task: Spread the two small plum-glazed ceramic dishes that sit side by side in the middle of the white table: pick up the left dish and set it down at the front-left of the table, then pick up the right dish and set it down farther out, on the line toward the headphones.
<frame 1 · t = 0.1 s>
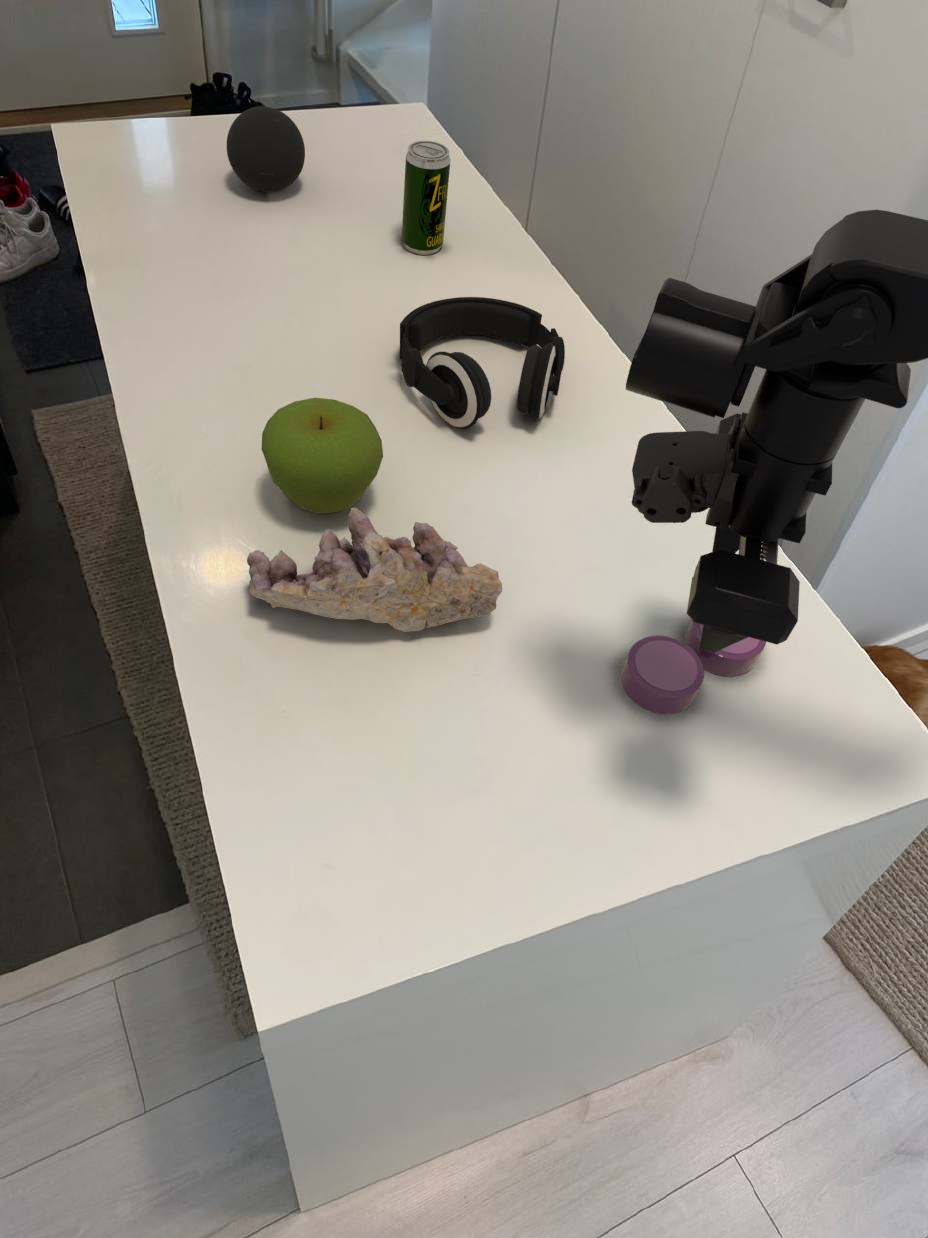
hand: (712, 602, 68), 12 cm above the table, tool pointing down, fingers open, 9 cm apart
mineral specimen: (372, 608, 81), on the table
headphones: (479, 383, 103), on the table
green energy drink can: (422, 246, 120), on the table
apple: (323, 498, 89), on the table
speaker: (268, 189, 126), on the table
dish a: (720, 647, 82), on the table
dish b: (658, 682, 79), on the table
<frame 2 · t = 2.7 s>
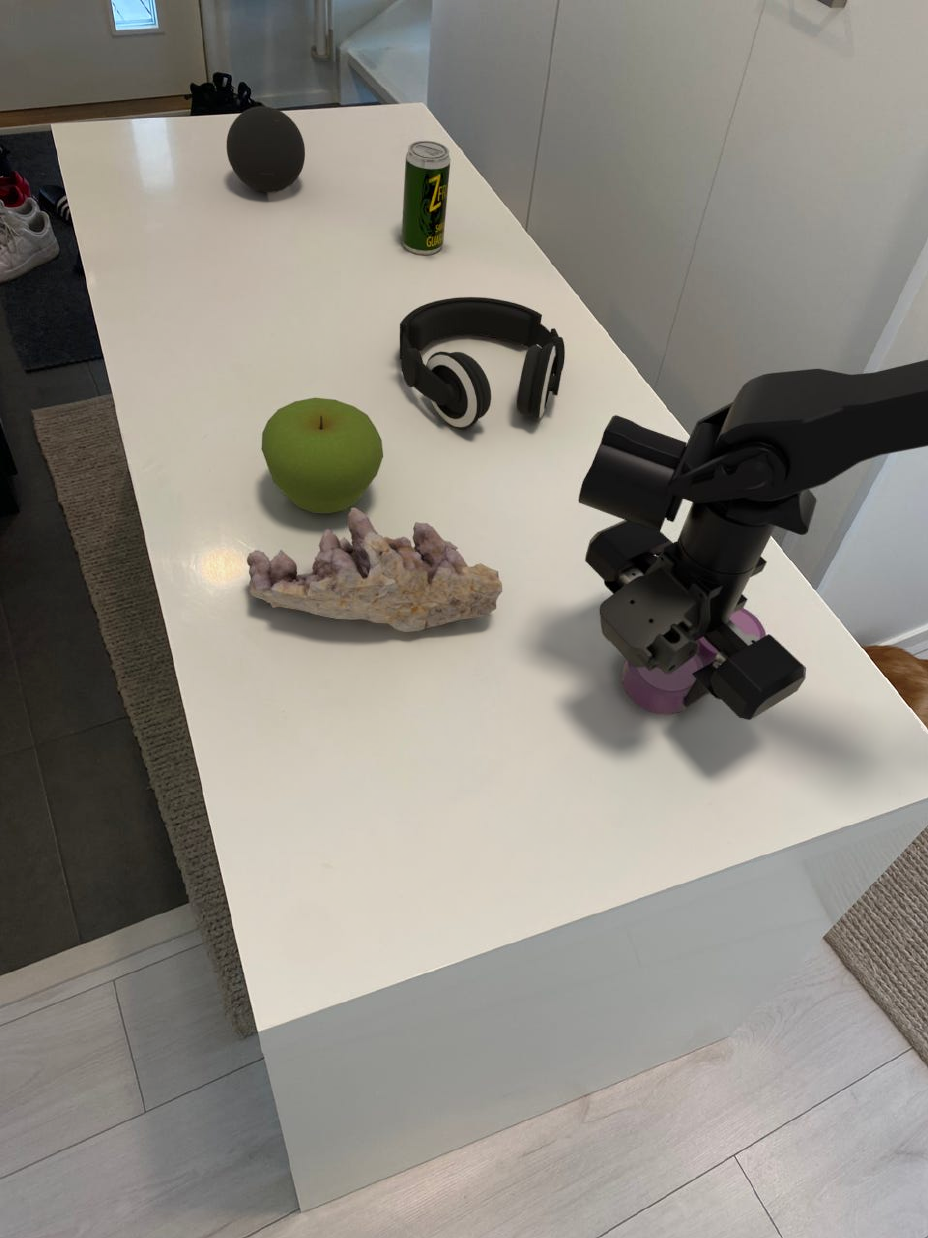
hand: (661, 675, 78), 1 cm above the table, tool pointing down, fingers closed on dish b, 6 cm apart
dish b: (658, 682, 79), on the table, touching gripper
everything else where it was.
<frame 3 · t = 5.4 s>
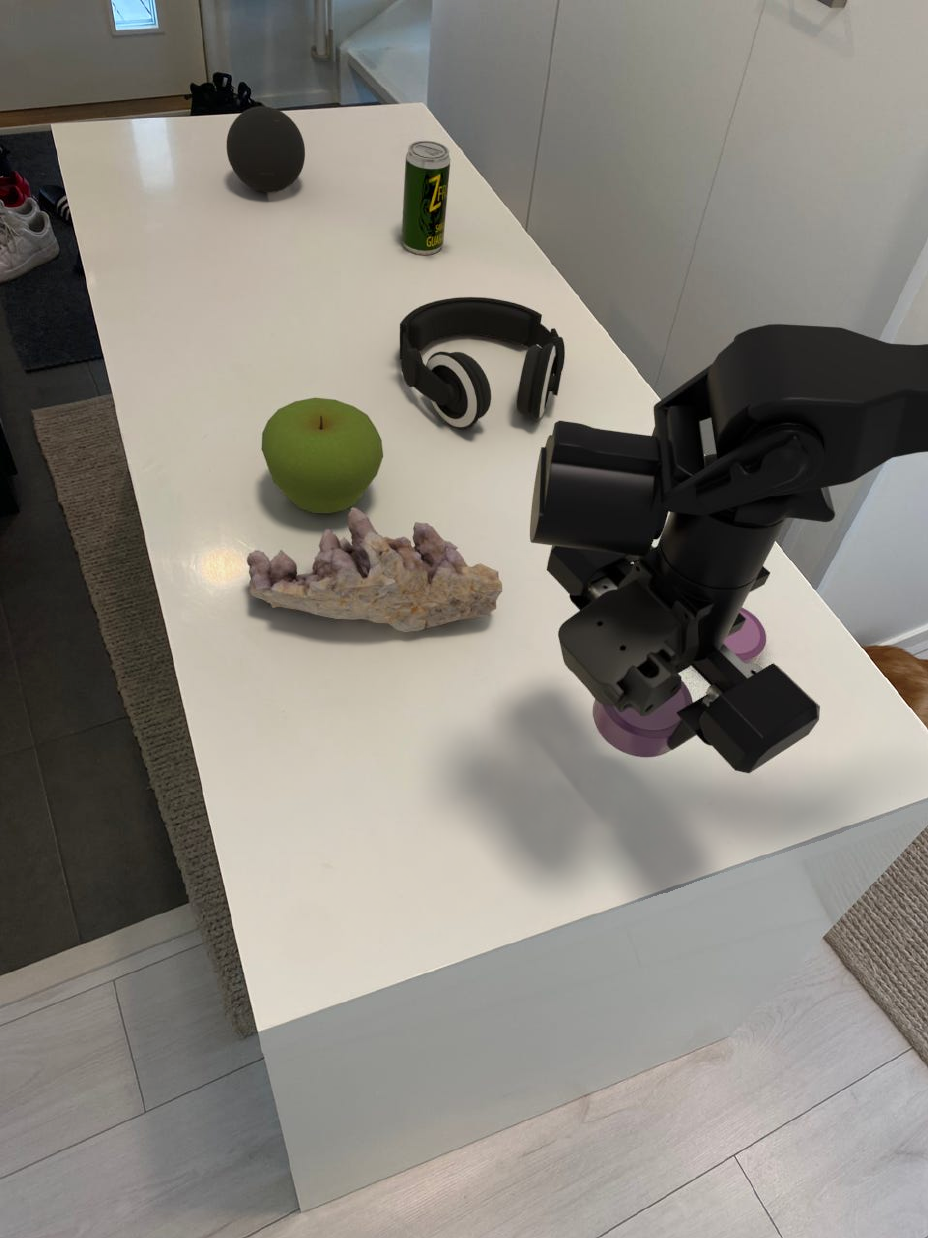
hand: (641, 709, 64), 10 cm above the table, tool pointing down, fingers closed on dish b, 6 cm apart
dish b: (638, 717, 65), point 9 cm above the table, touching gripper
everything else where it was.
when the fingers open (1 cm above the table, at t = 8.1 s): dish b stays where it is, on the table.
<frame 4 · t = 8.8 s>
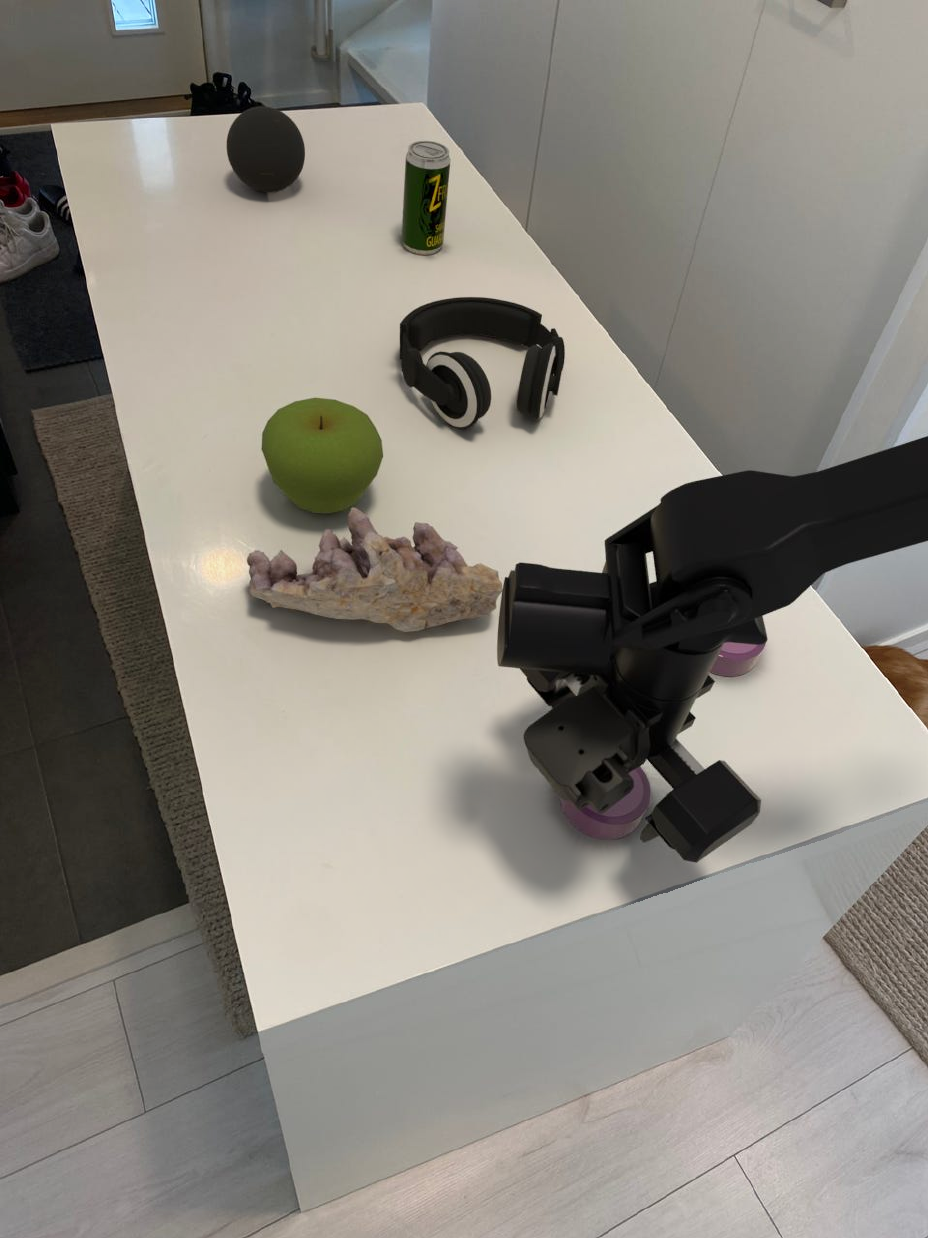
hand: (605, 789, 70), 2 cm above the table, tool pointing down, fingers open, 9 cm apart
dish b: (601, 801, 71), on the table
everything else where it was.
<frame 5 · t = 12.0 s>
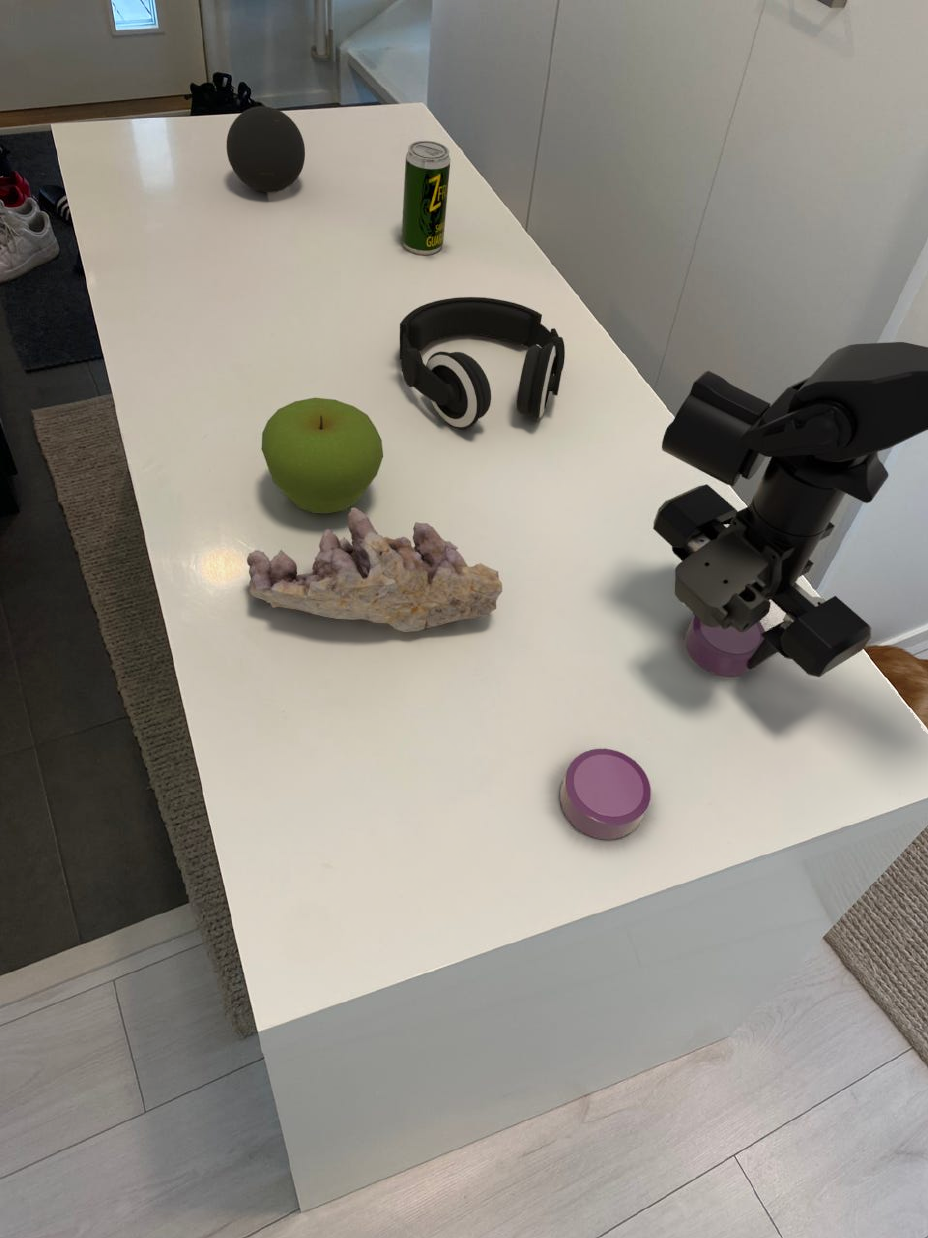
hand: (724, 639, 81), 1 cm above the table, tool pointing down, fingers closed on dish a, 6 cm apart
dish a: (720, 647, 82), on the table, touching gripper
everything else where it was.
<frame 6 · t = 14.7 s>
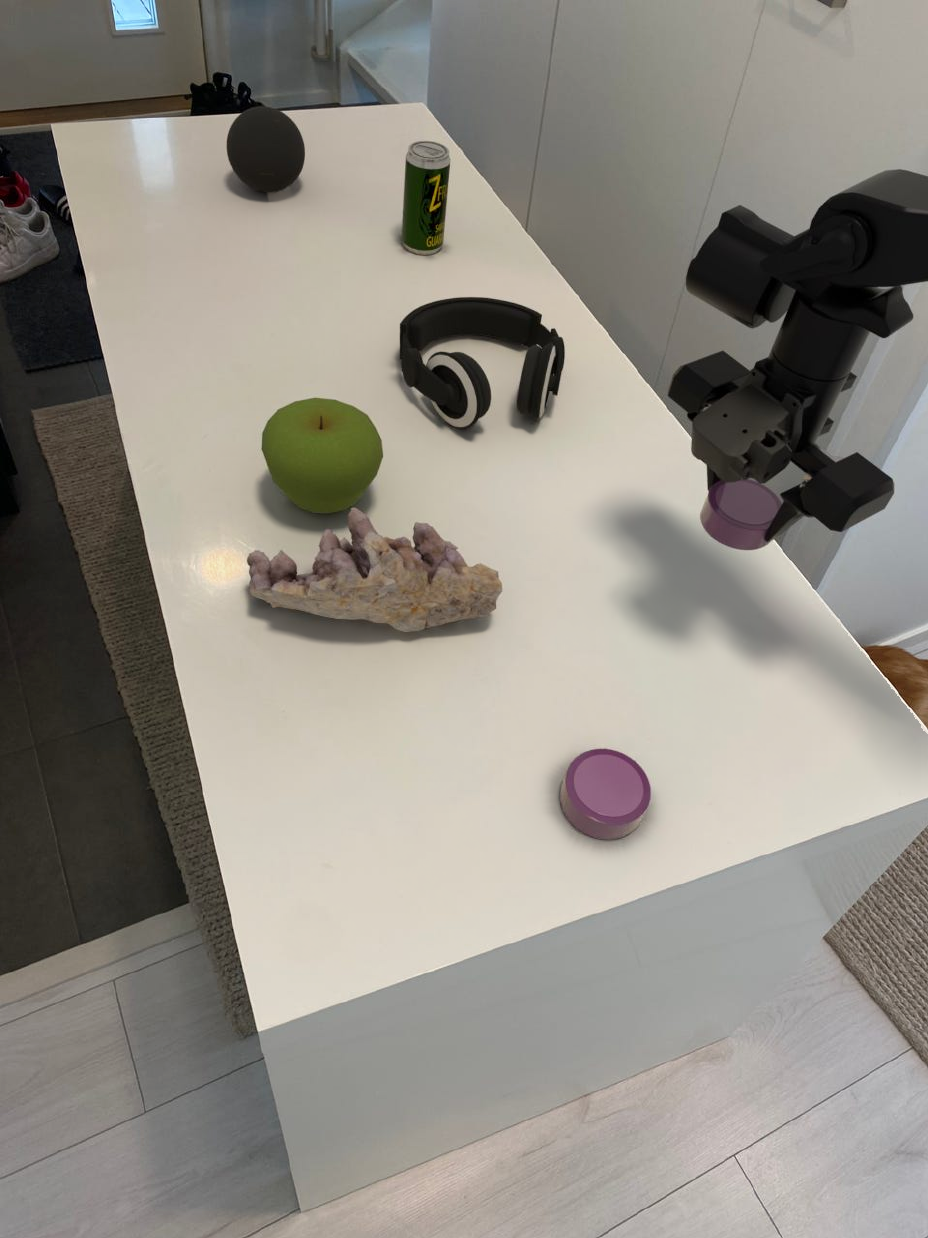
hand: (740, 514, 79), 10 cm above the table, tool pointing down, fingers closed on dish a, 6 cm apart
dish a: (736, 523, 80), point 9 cm above the table, touching gripper
everything else where it was.
when the fingers open (1 cm above the table, at t = 17.2 s): dish a stays where it is, on the table.
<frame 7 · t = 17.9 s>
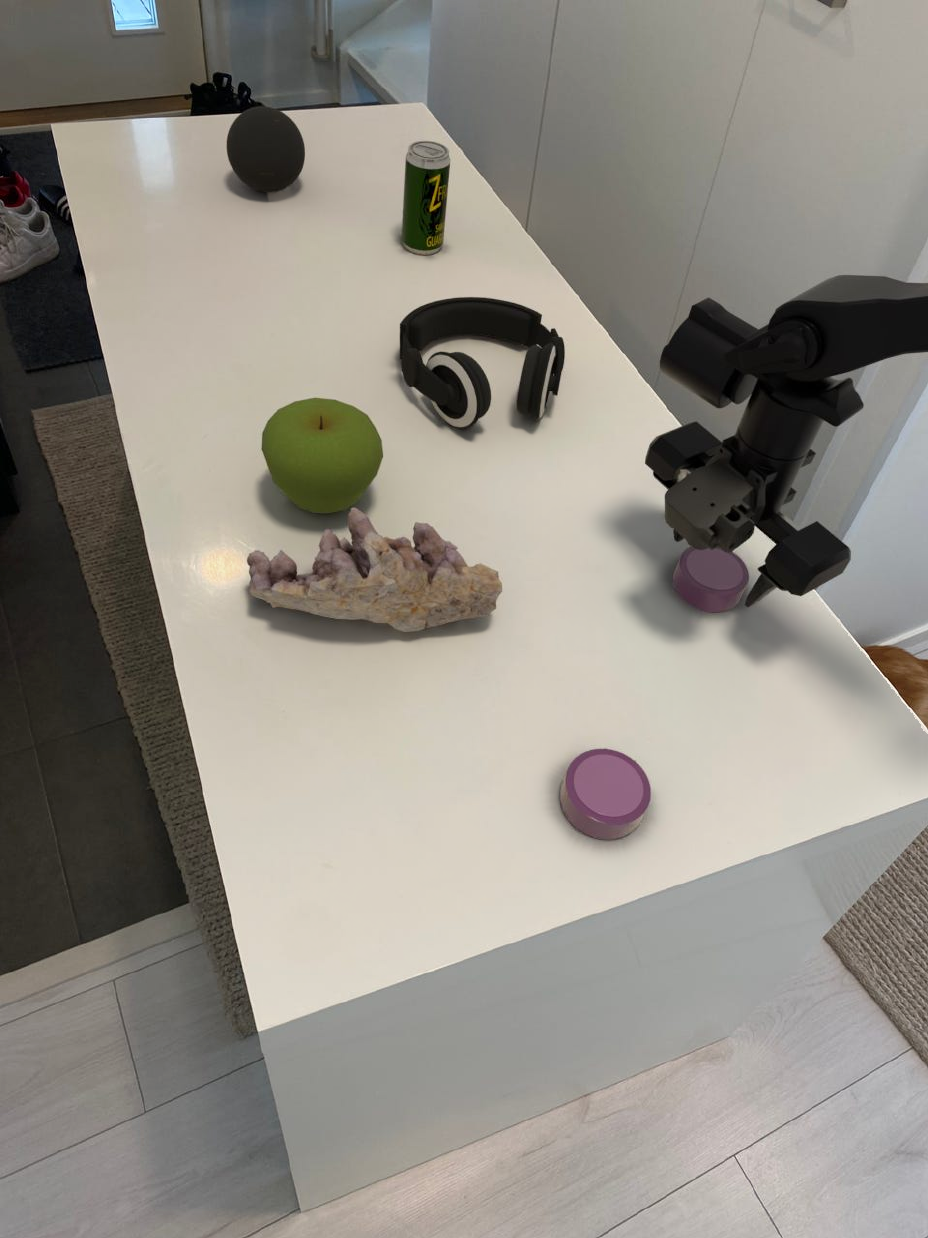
hand: (713, 571, 85), 2 cm above the table, tool pointing down, fingers open, 9 cm apart
dish a: (706, 586, 86), on the table
everything else where it was.
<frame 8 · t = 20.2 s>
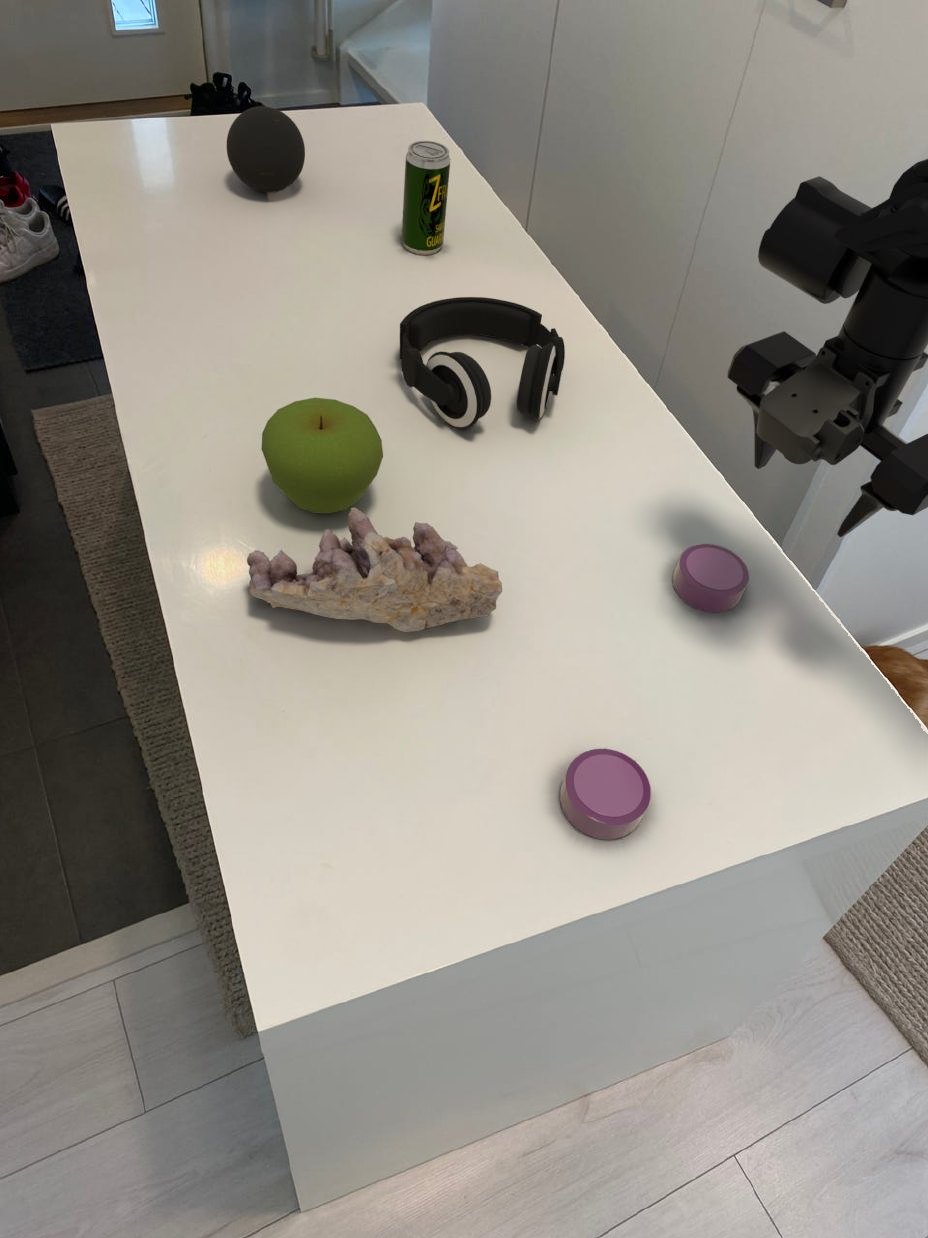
hand: (799, 499, 77), 12 cm above the table, tool pointing down, fingers open, 9 cm apart
nothing on the table moved.
at the end: dish b 0.1 cm from the target spot, on the table; dish a 0.1 cm from the target spot on the table beside the headphones, on the table; dish a tilted 0° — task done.
